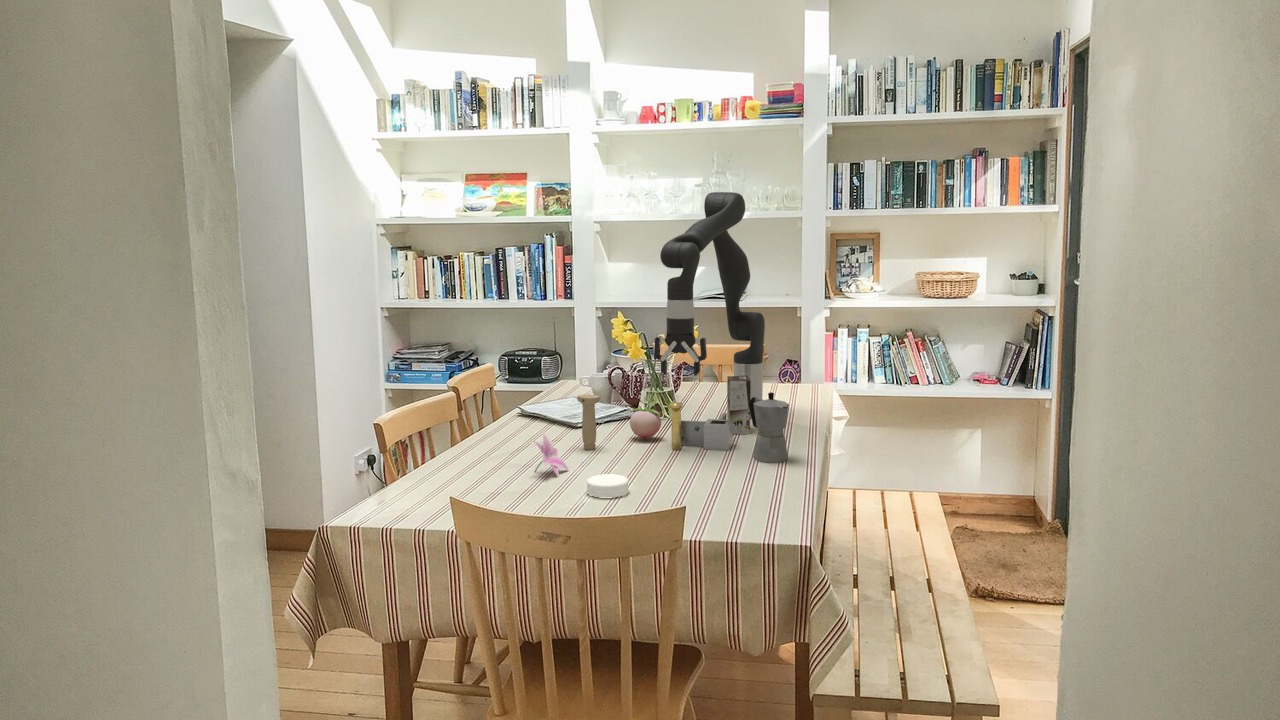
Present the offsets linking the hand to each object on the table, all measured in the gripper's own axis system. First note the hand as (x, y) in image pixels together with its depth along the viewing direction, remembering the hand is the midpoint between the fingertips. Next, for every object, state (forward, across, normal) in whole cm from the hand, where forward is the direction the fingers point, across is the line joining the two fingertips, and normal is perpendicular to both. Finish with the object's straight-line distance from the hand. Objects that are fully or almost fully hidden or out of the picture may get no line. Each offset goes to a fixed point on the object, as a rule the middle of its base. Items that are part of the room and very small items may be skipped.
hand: (680, 374), depth 266 cm
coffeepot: (+21, -25, +4) cm, 33 cm away
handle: (+21, +25, +3) cm, 33 cm away
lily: (+22, +29, +29) cm, 46 cm away
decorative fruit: (+21, +12, -10) cm, 26 cm away
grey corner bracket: (+21, -5, -10) cm, 24 cm away
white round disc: (+22, +10, +42) cm, 49 cm away
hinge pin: (+21, +1, 0) cm, 21 cm away
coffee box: (+21, -13, -25) cm, 35 cm away
